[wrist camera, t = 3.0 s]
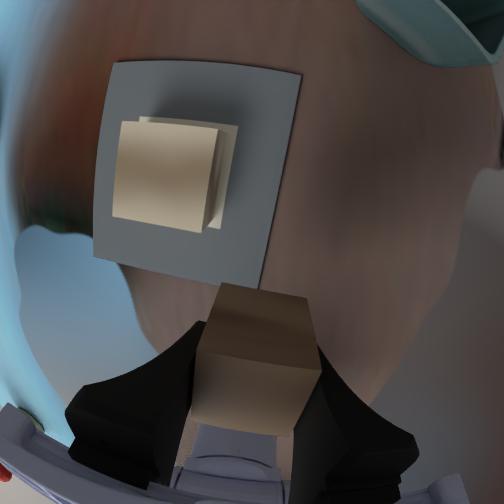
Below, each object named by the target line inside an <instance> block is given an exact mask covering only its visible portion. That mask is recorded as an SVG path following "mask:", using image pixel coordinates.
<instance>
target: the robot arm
mask: <svg viewBox="0 0 504 504" xmlns="http://www.w3.org/2000/svg"><path fill="white" fill-rule="evenodd" d="M206 323H207V322H203V321H197V322H196V323H195V324H194V325H193V326H192V327H191V328H190V329H189V330H188V331H187V332H186V333H185V334H184V335H183V336H182V337H181V338H180V339H179V340H178V341H176V342H175V343H174V344H173V345H172V346H171V347H169V348H168V349H167V350H165V351H164V352H163V353H161V354H160V355H158V356H157V357H156V358H154V359H152V360H151V361H149V362H147V363H146V364H144V365H142V366H140V367H138V368H136V369H134V370H132V371H130V372H128V373H126V374H123V375H120V376H118V377H115V378H112V379H109V380H106V381H102V382H98V383H93V384H89V385H84V386H83V387H82V388H81V389H80V390H79V391H78V393H77V394H76V395H75V396H74V398H73V400H72V401H71V402H70V404H69V405H68V407H67V408H66V410H65V417H66V420H67V423H68V425H69V426H70V428H71V430H72V432H73V434H74V436H75V439H74V441H73V443H72V445H71V446H70V448H69V447H67V446H65V445H63V444H62V443H60V442H58V441H56V440H54V439H53V438H51V437H49V436H48V435H46V434H44V433H43V432H41V431H39V430H38V429H36V426H35V424H34V423H33V421H32V420H31V419H30V418H29V417H28V416H27V415H26V414H24V413H23V412H21V411H20V410H19V409H17V408H16V407H14V406H13V405H12V404H10V403H7V404H6V405H5V406H4V407H3V409H2V410H1V411H0V463H1V464H2V465H3V466H4V467H5V468H6V469H7V470H9V471H10V472H11V473H12V474H14V475H15V476H16V477H18V478H19V479H20V480H22V481H23V482H25V483H26V484H27V485H29V486H30V487H32V488H33V489H35V490H36V491H37V492H39V493H40V494H42V495H44V496H45V497H46V498H48V499H49V500H51V501H53V502H55V503H56V504H470V503H469V500H468V497H467V494H466V491H465V489H464V485H463V483H462V480H461V477H460V475H459V473H455V474H452V475H449V476H446V477H443V478H440V479H439V480H437V481H435V482H434V483H432V484H431V485H430V486H429V487H428V488H424V489H421V490H417V491H413V492H408V493H404V494H400V491H399V487H398V484H400V483H401V477H400V475H401V474H402V473H403V472H404V471H405V470H407V468H409V467H410V466H411V465H412V464H413V463H414V462H415V461H416V460H417V458H418V456H419V449H418V447H417V444H416V441H415V438H414V436H413V435H412V434H410V433H408V432H406V431H404V430H402V429H401V428H398V427H397V426H395V425H393V424H392V423H390V422H389V421H387V420H386V419H384V418H382V417H381V416H380V415H378V414H377V413H376V412H374V411H373V410H372V409H371V408H370V407H368V406H367V405H366V404H365V403H364V402H363V401H362V400H361V399H360V398H359V397H358V396H357V395H356V394H355V393H354V392H353V391H352V390H351V389H350V388H349V387H348V386H347V385H346V383H345V382H344V381H343V380H342V379H341V377H340V376H339V375H338V374H337V372H336V371H335V370H334V368H333V367H332V365H331V364H330V363H329V361H328V360H327V358H326V357H325V355H324V354H323V352H322V351H321V349H320V348H319V346H318V345H317V348H318V353H319V358H320V363H321V368H322V372H321V374H320V376H319V378H318V381H317V383H316V385H315V387H314V389H313V391H312V393H311V395H310V397H309V399H308V401H307V403H306V405H305V407H304V409H303V411H302V413H301V415H300V417H299V419H298V421H297V423H296V425H295V426H294V428H293V430H294V445H293V463H292V474H291V483H290V482H289V481H288V480H281V470H280V469H276V448H277V436H275V435H266V434H258V433H251V432H244V431H238V430H232V429H226V428H221V427H216V426H211V425H206V424H202V423H199V427H198V431H197V435H196V438H195V442H194V446H193V450H192V454H191V458H190V457H186V460H185V464H184V467H181V466H175V467H174V465H175V461H176V456H177V452H178V448H179V444H180V440H181V436H182V433H183V429H184V425H185V421H186V418H187V415H188V412H189V410H190V407H191V405H192V395H193V382H194V371H195V360H196V350H197V347H198V344H199V341H200V339H201V336H202V333H203V331H204V328H205V325H206Z"/></svg>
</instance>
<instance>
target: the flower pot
mask: <svg viewBox="0 0 504 504" xmlns="http://www.w3.org/2000/svg"><path fill="white" fill-rule="evenodd" d="M355 2H356V4H357V6H358V8H359V9H360V11H361V12H362V13H363V15H364V16H365V17H367V18H368V19H369V20H370V21H372V22H373V23H374V24H376V25H377V26H378V27H379V28H381V29H382V30H383V31H384V32H385V33H387V34H388V35H389V36H390V37H391V38H393V39H394V40H395V41H396V42H397V43H398V44H399V45H400V46H401V47H403V48H404V49H405V50H406V51H407V52H408V53H409V54H410V55H412V56H413V57H415V58H417V59H419V60H420V61H422V62H424V63H427V64H429V65H432V66H436V67H443V68H455V67H466V66H477V65H493V64H497V63H498V61H499V59H500V57H501V55H502V53H503V51H504V0H355Z"/></svg>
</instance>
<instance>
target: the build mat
mask: <svg viewBox="0 0 504 504" xmlns="http://www.w3.org/2000/svg"><path fill="white" fill-rule="evenodd" d="M300 79H301V75H296V74H292V73H287V72H281V71H276V70H270V69H264V68H258V67H251V66H243V65H235V64H225V63H214V62H198V61H134V62H119V63H114V64H113V68H112V72H111V76H110V81H109V85H108V90H107V95H106V100H105V105H104V110H103V116H102V122H101V129H100V136H99V143H98V152H97V161H96V172H95V186H94V206H93V254H94V255H93V256H94V257H97V258H101V259H105V260H109V261H113V262H117V263H121V264H125V265H129V266H133V267H137V268H141V269H145V270H150V271H154V272H158V273H162V274H167V275H171V276H176V277H180V278H185V279H189V280H194V281H198V282H203V283H208V284H212V285H217V286H220V285H221V283H222V282H224V283H229V284H234V285H239V286H244V287H249V288H254V289H257V288H258V283H259V279H260V274H261V269H262V265H263V260H264V256H265V251H266V246H267V242H268V237H269V232H270V227H271V223H272V218H273V213H274V209H275V204H276V199H277V194H278V189H279V185H280V180H281V175H282V170H283V165H284V160H285V155H286V150H287V145H288V140H289V135H290V130H291V125H292V120H293V115H294V110H295V105H296V100H297V95H298V90H299V84H300ZM122 121H134V122H153V123H167V124H178V125H188V126H197V127H206V128H214V129H219V130H221V131H223V132H226V133H228V134H227V140H226V145H225V151H224V156H223V162H222V167H221V173H220V179H219V185H218V191H217V197H216V204H215V210H214V217H213V220H212V221H211V222H210V223H209V225H208V226H207V227H206V228H205V229H204V231H203V232H202V233H197V232H192V231H187V230H182V229H177V228H171V227H166V226H161V225H156V224H150V223H145V222H140V221H135V220H129V219H124V218H118V217H113V216H112V211H113V194H114V181H115V170H116V161H117V152H118V145H119V137H120V131H121V124H122Z"/></svg>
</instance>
